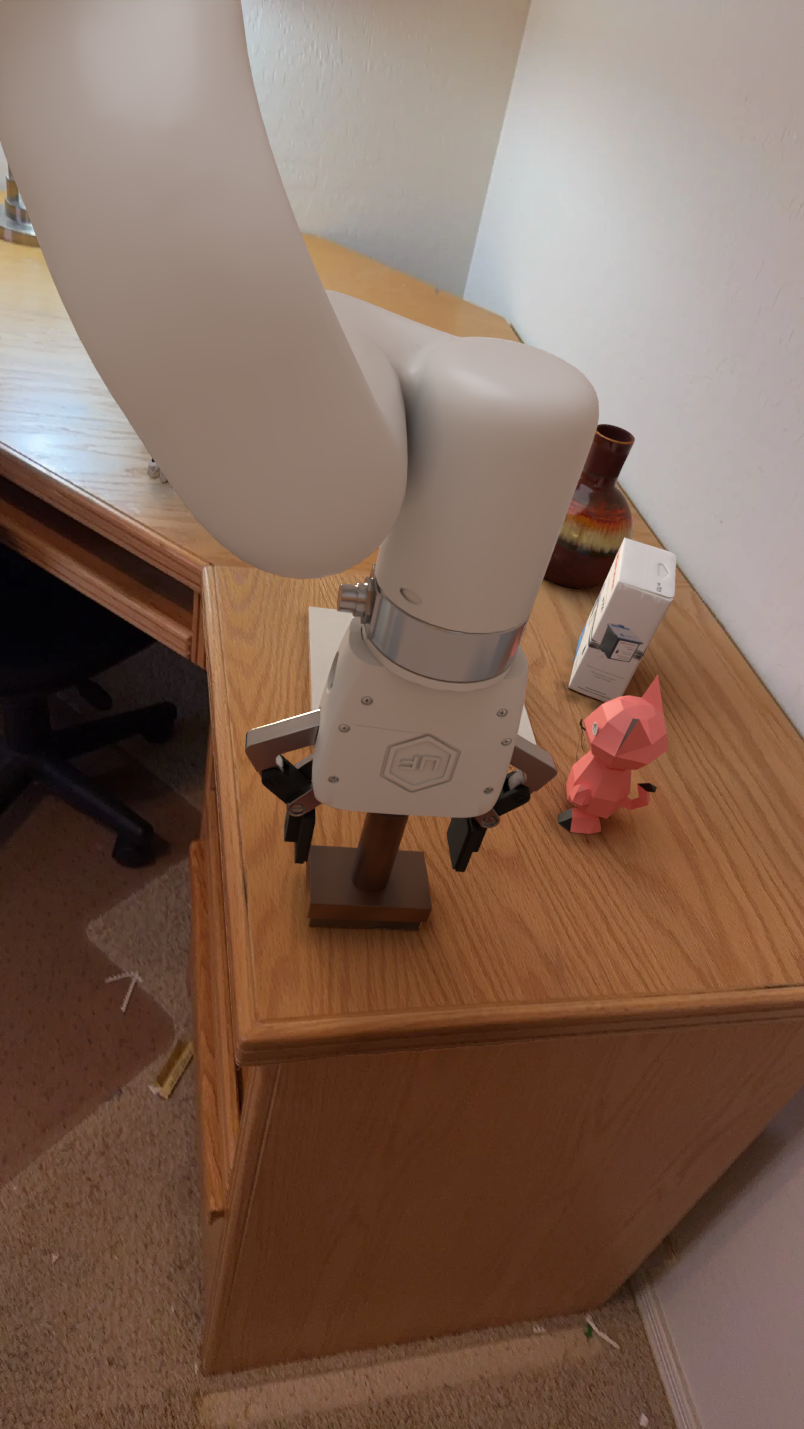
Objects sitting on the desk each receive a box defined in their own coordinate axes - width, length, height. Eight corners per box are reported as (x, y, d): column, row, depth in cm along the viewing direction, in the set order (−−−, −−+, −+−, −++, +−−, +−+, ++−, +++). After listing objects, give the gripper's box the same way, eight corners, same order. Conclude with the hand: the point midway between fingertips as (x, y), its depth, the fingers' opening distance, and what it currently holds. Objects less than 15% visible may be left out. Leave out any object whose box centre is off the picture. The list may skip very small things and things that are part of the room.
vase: (497, 541, 96) (540, 405, 86) (581, 540, 100) (631, 410, 91) (542, 599, 89) (595, 458, 79) (632, 596, 93) (692, 461, 83)
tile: (310, 737, 67) (312, 728, 66) (307, 615, 78) (308, 605, 78) (534, 756, 70) (537, 747, 70) (498, 636, 82) (501, 627, 82)
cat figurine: (559, 768, 70) (613, 650, 62) (640, 806, 68) (706, 690, 61) (532, 823, 65) (587, 701, 57) (619, 865, 63) (688, 746, 56)
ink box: (577, 639, 85) (622, 533, 77) (628, 656, 84) (677, 551, 77) (567, 690, 78) (614, 579, 70) (621, 708, 78) (675, 599, 70)
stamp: (304, 930, 54) (327, 828, 48) (303, 871, 57) (324, 769, 51) (422, 934, 55) (460, 836, 49) (415, 877, 59) (449, 778, 52)
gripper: (259, 647, 37) (229, 894, 48) (635, 685, 41) (527, 907, 52) (263, 553, 43) (235, 794, 54) (593, 594, 46) (504, 812, 57)
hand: (378, 849), depth 53 cm, fingers open, 9 cm apart
